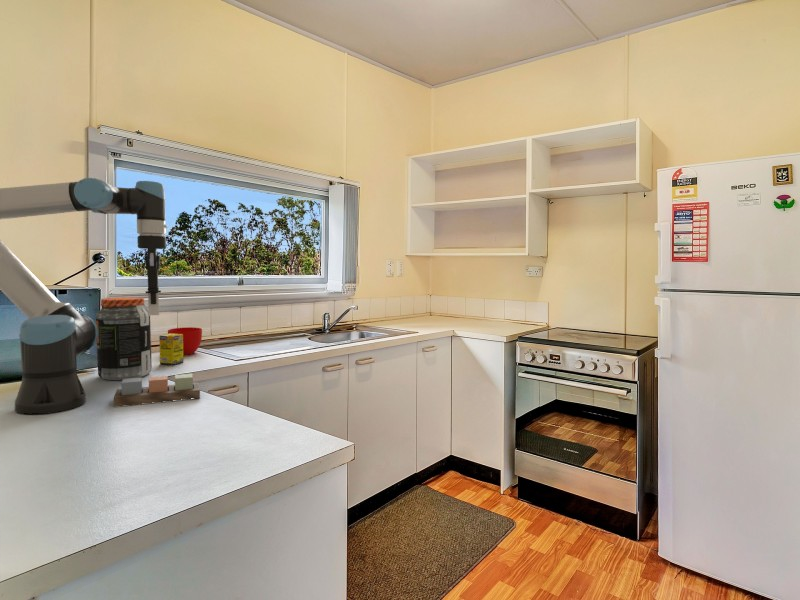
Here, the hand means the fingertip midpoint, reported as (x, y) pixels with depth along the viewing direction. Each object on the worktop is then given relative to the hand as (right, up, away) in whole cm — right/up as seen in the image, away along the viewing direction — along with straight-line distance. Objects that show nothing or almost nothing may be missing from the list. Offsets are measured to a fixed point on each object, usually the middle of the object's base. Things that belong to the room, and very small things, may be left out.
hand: (153, 314), depth 144 cm
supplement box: (-12, -20, +37) cm, 43 cm away
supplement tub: (-18, -21, +17) cm, 33 cm away
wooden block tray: (+6, -23, -9) cm, 25 cm away
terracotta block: (+6, -21, -9) cm, 23 cm away
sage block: (+12, -21, -6) cm, 25 cm away
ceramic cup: (-16, -18, +54) cm, 60 cm away
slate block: (0, -21, -11) cm, 24 cm away
